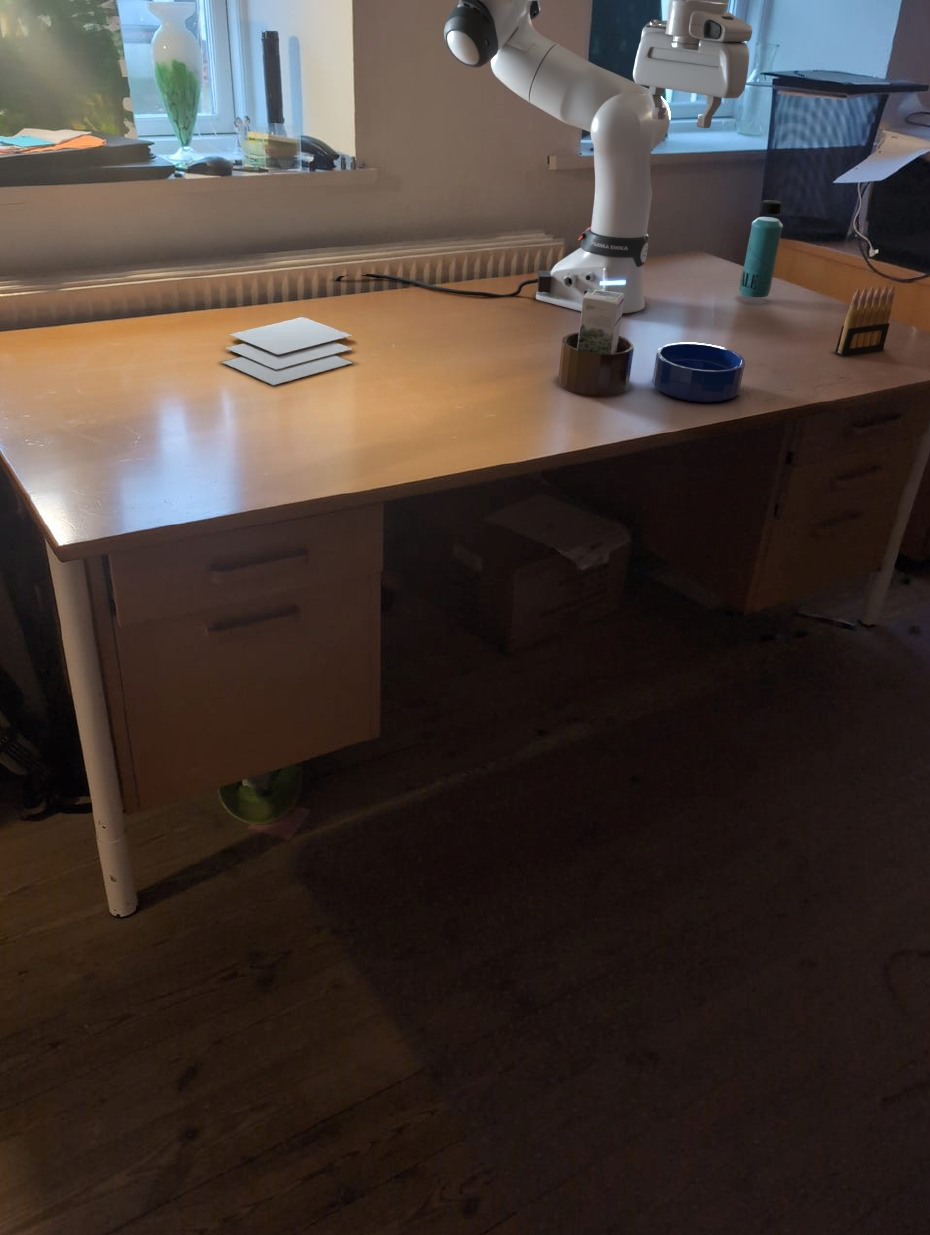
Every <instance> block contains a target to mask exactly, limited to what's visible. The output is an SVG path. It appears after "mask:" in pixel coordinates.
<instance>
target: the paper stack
mask: <svg viewBox="0 0 930 1235" xmlns="http://www.w3.org/2000/svg"><path fill="white" fill-rule="evenodd" d="M228 335H229V336H231V337H233V338H236V339H238V340H240V341H243V342H244V343H240V344H236V345H232V346H227V347H225V350H229V351H231V352H233V353H236V354H237V355H241V356H239V357H236V358H232V359H229V360H224V361H221V363H222V364H224V365H227V366H228V367H230V368H234V369H235V370H238V371H240V372H242V373H245V374H247V375H249V376H251V377H254V378H256V379H258V380H261V381H263V382H265V383H268V384H270V385H272V386H276V385H279V384H283V383H287V382H291V381H293V380H297V379H301V378H304V377H308V376H311V375H315V374H319V373H322V372H326V371H329V370H332V369H336V368H340V367H343V366H346V365H347V366H348V365H351V364H353V362H352V361H349V360H347V359H345V358H343V357H340V356H337V355H336V354H339V353H343V352H347V351H350V350H353V348H352V347H349V346H346V345H344V344H341V343H339V342H336V341H337V340H341V339H345V338H348V337H352V336H353V334H350V333H347V332H345V331H342V330H339V329H336V328H334V327H331V326H328V325H326V324H323V323H320V322H317V321H315V320H313V319H309V318H306V317H305V316H301V317H297V318H292V319H288V320H283V321H279V322H276V323H271V324H268V325H262V326H257V327H253V328H250V329H246V330H241V331H237V332H233V333H229V334H228Z"/></svg>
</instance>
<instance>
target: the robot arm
mask: <svg viewBox="0 0 930 1235" xmlns="http://www.w3.org/2000/svg"><path fill="white" fill-rule="evenodd" d="M729 4H730V0H669V4H668V10H667V19H666V20H660V19H656V18H655V19H651V20H650V21H648V22H647V23H646V24H645V26H644V27H642V30H641V37H640V42H639V44H638V48H637V52H636V55H635V60H634V65H633V70H632V79H633V80H630V79H628V78H626V77H624V76H621V75H620V74H617V73H615V72H613V71H610V70H608V69H606V68H603V67H600V66H598V65H597V64H595V63H594V62H593V63H592V62H591V61H589V60H587V59H585V58H583V57H581V55H578V54H577V53H575V52H573V51H571V50H570V49H568V48H566V47H564V46H563V45H561V44H559V43H558V42H555V41H554V40H551V39H549V38H548V37H545V36H544V35H543V34H541V33H539V32H538V31H537V30H536V29H535V27H534V25H533V23H532V20H533V19H536V18H537V17H538V16H539V14H540V13H541V12H540V11H541V6H540V0H459V1H458V2H457V4H456V5H455V6H454V7H453V8H452V10H451V11H450V13H449V15H448V17H447V19H446V22H445V24H444V28H443V36H444V37H443V38H444V41H445V44H446V46H447V49H448V50H449V52H450V54H451V55H452V56H453V57H454V58H455V59H456V60H457V61H458V62H459V63H461V64H462V65H465V66H467V67H470V68H474V69H475V68H481V67H483V66H485V65H487V64H488V63H489V62H490V67H491V71H492V73H493V75H494V76H495V77H496V78H497V79H498V80H499V81H500V82H501V83H502V84H503V85H505V86H506V87H507V88H508V89H509V90H511V91H512V92H513V93H515V94H516V95H517V96H518V97H520V98H522V99H523V100H525V101H526V102H528V103H530V104H531V105H533V106H535V107H536V108H538V109H539V110H542V111H543V112H545V113H546V114H548V115H550V116H552V117H553V118H555V119H557V120H558V121H560V122H562V123H564V124H566V125H569V126H572V127H576V128H578V129H581V130H583V131H587V132H589V133H590V139H591V143H592V145H593V164H594V166H593V167H594V199H593V206H592V215H591V216H592V217H591V226H589V227H587V228H586V229H585V230H584V231H582V232H581V234H579V235H578V239H577V241H578V242H580V247H579V248H577V249H576V250H574V251H573V252H571V253H569V254H568V255H567V256H565V257H564V258H562V259H561V260H560V261H558V262H557V263H556V264H555V265H554V266H553V267H552V268H551V270H541V269H540V270H538V272H537V278H532V279H528V280H524V281H522V282H520V283H519V285H518V286H517V289H516V290H515V291H513V292H510V293H508V294H507V293H506V294H499V293H491V292H485V291H476V290H475V291H474V290H462V289H454V288H448V287H442V286H437V285H433V284H430V283H426V282H424V281H423V282H422V281H419V280H415V279H410V278H406V277H402V276H396V275H389V274H381V273H372V274H366V275H360V276H361V277H362V276H363V277H366V278H367V277H368V278H371V279H372V278H373V279H383V280H392V281H397V282H401V283H406V284H411V285H415V286H419V287H423V288H426V289H429V290H433V291H437V292H443V293H449V294H454V295H462V296H473V297H486V298H512V297H516V296H518V295H519V294H520V293H521V292H522V290H523V288H524V287H525V286H527V285H531V284H536V286H537V290H536V292H535V299H536V300H538V301H541V302H545V303H549V304H553V305H554V306H555V305H556V306H559V307H563V308H567V309H570V310H573V311H578V312H581V311H582V301H583V297H584V295H585V294H586V293H587V292H588V291H589V290H590V289H595V290H602V291H610V292H617V293H624V302H623V310H622V314H631V313H636V312H639V311H642V310H644V309H645V307H646V304H645V297H644V264H645V263H646V260H647V255H648V249H649V233H648V229H649V228H648V227H649V220H650V212H651V206H652V199H653V188H652V179H651V176H652V174H651V157H652V150H653V149H655V148H656V147H658V145H660V144H661V143H662V142H663V140H664V139H665V137H666V135H667V133H668V131H669V128H670V124H671V110H670V107H669V104H668V103H667V101H666V100H665V99H664V98H663V96H662V95H664V92H665V90H671V91H677V92H684V93H689V94H695V95H696V94H697V95H702V96H706V97H705V104H707V105H706V107H705V109H704V111H703V113H702V114H698V115H697V122H696V127H697V128H701V129H710V128H711V126H712V121H713V116H715V114H716V112H717V111H718V109H719V108H720V106H721V105H722V99H738V98H740V97H741V96H742V94H743V93H744V92H745V89H746V85H747V81H748V80H747V79H748V75H749V74H748V73H749V67H750V49H749V46H748V45H747V44H746V43H747V42H750V40H751V39H752V35H753V27H752V25H751V24H748V23H747V22H745V21H743V20H742V19H740V18H739V17H737V16H736V15H735V14H732V13H731V12H729V11H728V8H729ZM645 86H646V87H645ZM648 87H649V88H648ZM347 276H349V275H346V276H340V274H339V275H337V276H336V277H335V278H334V281H335V282H337V281H341V280H342V279H343V278H345V277H347Z"/></svg>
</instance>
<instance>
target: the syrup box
mask: <svg viewBox="0 0 930 1235" xmlns="http://www.w3.org/2000/svg"><path fill="white" fill-rule="evenodd" d="M623 302H624V293H617V292H610V291H602V290H595V289H590V290H589V291H588V292H587V293H586V294H585V295H584V297H583V301H582V311H580V321H579V331H578V332H579V338H578V347H577V349H579V350H582V351H587V352H593V353H616V352H617V345H618V337H619V336H620V330H621V323H622V316H623V313H622V310H623Z"/></svg>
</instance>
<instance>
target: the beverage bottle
mask: <svg viewBox="0 0 930 1235" xmlns="http://www.w3.org/2000/svg"><path fill="white" fill-rule="evenodd" d="M759 212H760V213H762V214H763V213H764V214H767V215H780V214H781V212H782V202H781V201H778V200H771V199H766V200H765V199H764V200H762V201H761V204H760V207H759ZM783 228H784V226H783V223H782V222H781V220H780V219H779V218H776V217H770V216H759V217H757V218H756V219H755V220H753V221H752V222H751V228H750V234H749V237H748V241H747V244H746V245H747V246H746V253H745V260H744V264H743V269H742V271H741V277H740V282H739V294H740V295H743V296H747V297H751V298H766V297H768V296H769V294H770V292H771V290H772V285H773V279H774V274H775V273H774V271H775V268H776V262H777V261H776V260H777V255H778V251H779V246H780V241H781V235H782V231H783Z"/></svg>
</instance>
